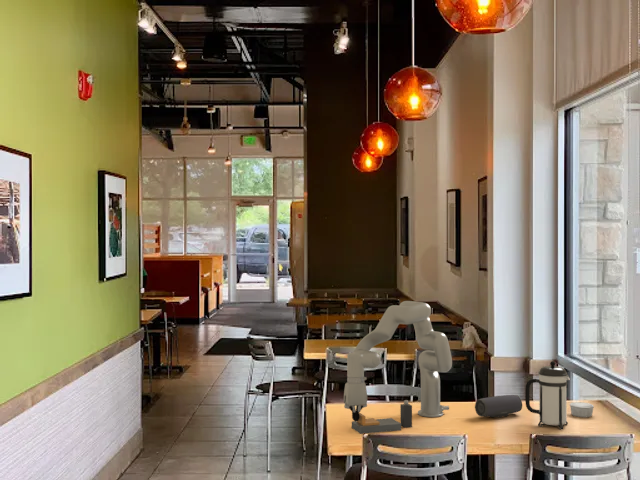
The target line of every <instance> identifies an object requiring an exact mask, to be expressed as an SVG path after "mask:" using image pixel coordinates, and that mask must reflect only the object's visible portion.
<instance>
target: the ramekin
mask: <svg viewBox="0 0 640 480" xmlns="http://www.w3.org/2000/svg"><path fill="white" fill-rule="evenodd" d="M569 408H570V412H571V415H572V416H573V417H577V418H591V417H592V416H593V411H594V408H595V406H594V405H593V404H592V403H589V402H577V401H576V402H570V403H569Z"/></svg>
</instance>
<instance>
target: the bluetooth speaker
mask: <svg viewBox="0 0 640 480" xmlns="http://www.w3.org/2000/svg"><path fill="white" fill-rule="evenodd" d="M522 409H523V401H522V399H521V397H520V396H519V395H517V394H505V395H495V396H489V397H488V396H487V397H483V398H478V399H477V400H476V401H475V403H474V410H475V412H476V415H478V417H483V418H484V417H489V418H490V417H498V418H503V417H502V416H505V417H509V415H512V414H515V413H519V412H521V410H522Z"/></svg>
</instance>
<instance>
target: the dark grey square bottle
mask: <svg viewBox="0 0 640 480" xmlns="http://www.w3.org/2000/svg"><path fill="white" fill-rule="evenodd" d="M399 405H400V409H399V411H400V423H401V428H403V429H405V428H406V429H407V428H412V427H413V405H412V404H410V403H409V400H408V399H404V400H403V403H401V404H399Z"/></svg>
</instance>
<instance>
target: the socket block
mask: <svg viewBox="0 0 640 480" xmlns="http://www.w3.org/2000/svg"><path fill="white" fill-rule="evenodd" d="M374 419H375V418H374ZM375 420H377V421H379V422H380V424H379V425H368V426H363V425H361V424H360V423H358V422H357V421H354V420H352V421H351V429H353V430H354V431H355V432H356V433H358V434H360V435H364V434H363V433H366V434H375V433H376V434H377V433H385V432H395V431H402V426H401V422H399V421H397V420H396V419H394V418H392V417H388V418H376V419H375Z"/></svg>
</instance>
